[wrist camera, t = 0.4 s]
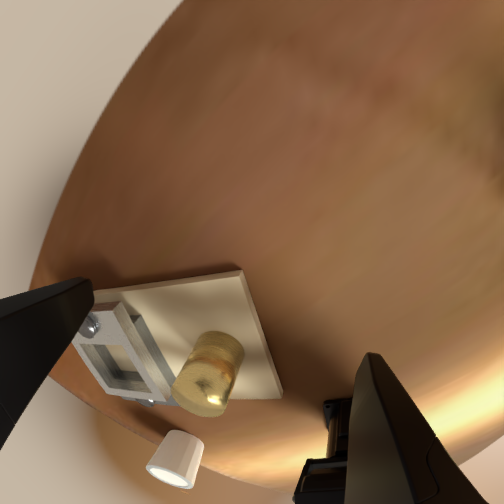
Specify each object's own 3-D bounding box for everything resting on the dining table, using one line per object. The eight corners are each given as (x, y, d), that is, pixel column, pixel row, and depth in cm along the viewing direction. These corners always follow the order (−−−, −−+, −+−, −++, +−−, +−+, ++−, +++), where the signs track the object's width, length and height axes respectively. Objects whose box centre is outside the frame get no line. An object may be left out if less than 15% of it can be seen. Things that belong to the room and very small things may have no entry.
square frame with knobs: (187, 396, 32) (175, 421, 29) (128, 391, 34) (115, 411, 31) (129, 291, 27) (108, 314, 24) (71, 298, 29) (51, 316, 26)
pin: (250, 366, 27) (233, 418, 22) (207, 367, 29) (184, 415, 23) (235, 329, 26) (213, 381, 20) (190, 331, 27) (161, 379, 22)
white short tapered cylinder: (215, 454, 39) (200, 492, 33) (176, 448, 41) (160, 483, 35) (197, 430, 37) (179, 471, 31) (156, 424, 39) (136, 461, 33)
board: (283, 391, 29) (281, 398, 28) (118, 384, 36) (114, 389, 35) (242, 269, 24) (239, 276, 23) (63, 294, 31) (58, 299, 30)
